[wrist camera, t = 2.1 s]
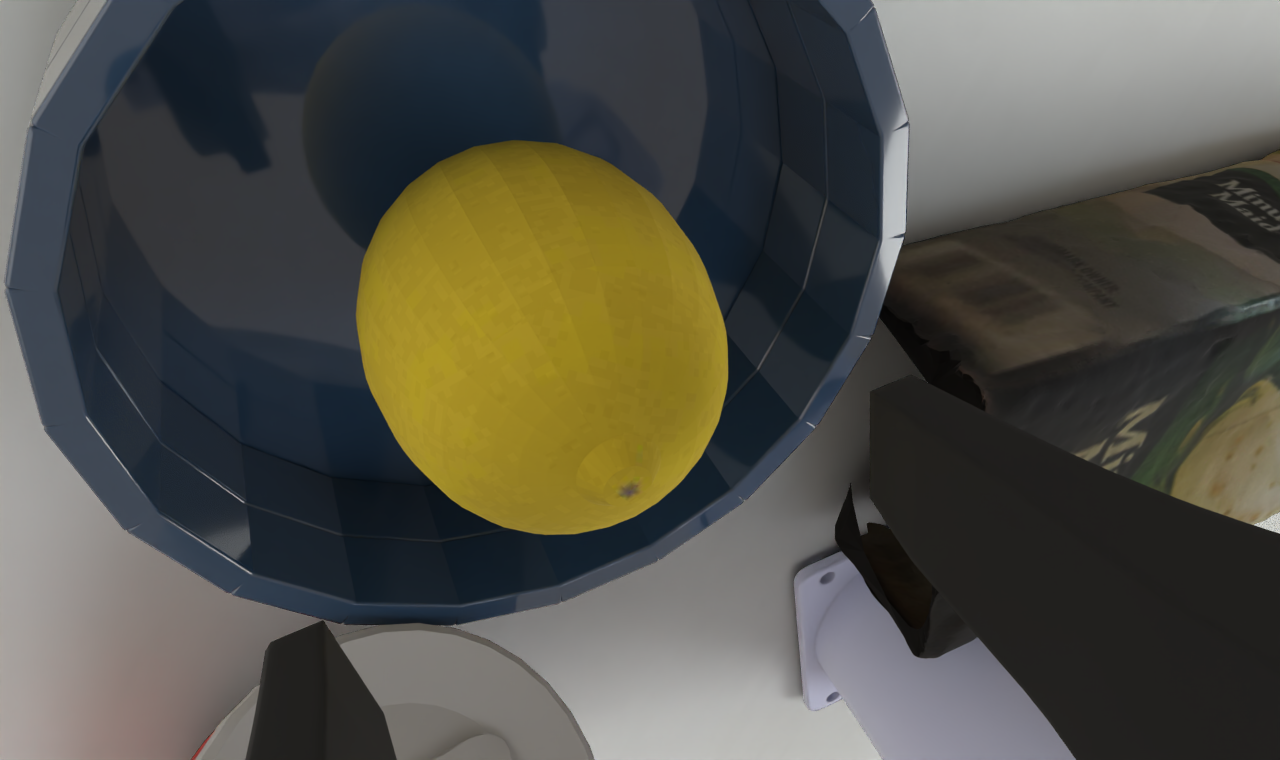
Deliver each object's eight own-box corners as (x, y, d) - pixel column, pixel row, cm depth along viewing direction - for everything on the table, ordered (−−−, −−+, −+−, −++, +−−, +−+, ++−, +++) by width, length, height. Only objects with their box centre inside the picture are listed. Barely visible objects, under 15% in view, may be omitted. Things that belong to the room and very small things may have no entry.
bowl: (775, -315, 15) (926, -311, 12) (809, 360, 24) (900, 457, 21) (-189, -81, 12) (-304, -1, 9) (264, 580, 21) (279, 726, 18)
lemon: (282, 300, 17) (342, 626, 11) (399, 21, 15) (544, 241, 9) (537, 368, 20) (687, 651, 15) (661, 143, 18) (893, 366, 13)
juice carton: (1434, 91, 27) (1681, 178, 23) (1298, 357, 34) (1472, 467, 29) (833, 239, 22) (1000, 390, 18) (803, 522, 28) (921, 687, 24)
